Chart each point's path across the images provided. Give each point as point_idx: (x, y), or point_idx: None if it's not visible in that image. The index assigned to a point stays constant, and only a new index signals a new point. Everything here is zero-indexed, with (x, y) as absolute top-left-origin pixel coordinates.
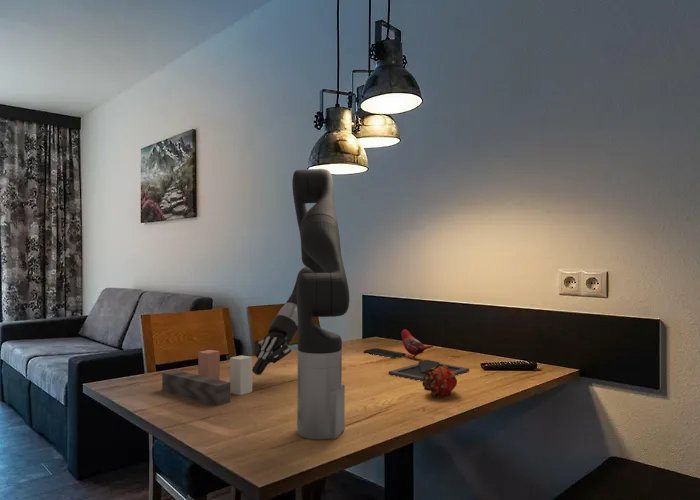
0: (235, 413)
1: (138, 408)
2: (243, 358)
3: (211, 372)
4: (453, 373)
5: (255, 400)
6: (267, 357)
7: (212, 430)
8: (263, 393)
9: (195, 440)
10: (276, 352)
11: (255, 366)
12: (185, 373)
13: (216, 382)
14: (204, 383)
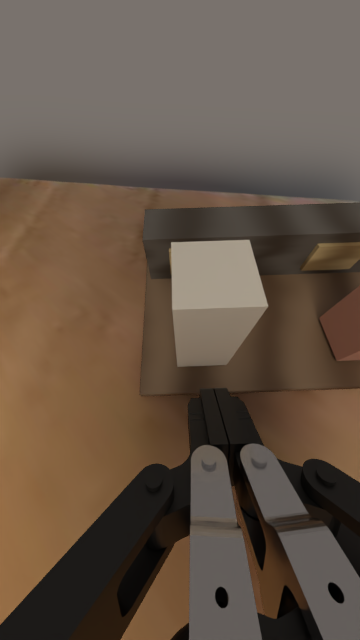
0: (113, 270)
1: (275, 203)
2: (183, 264)
3: (356, 308)
4: None
5: None
6: (190, 482)
7: (87, 213)
8: (180, 424)
9: (81, 190)
10: (89, 547)
11: (223, 400)
12: (337, 226)
13: (175, 223)
14: (196, 209)
